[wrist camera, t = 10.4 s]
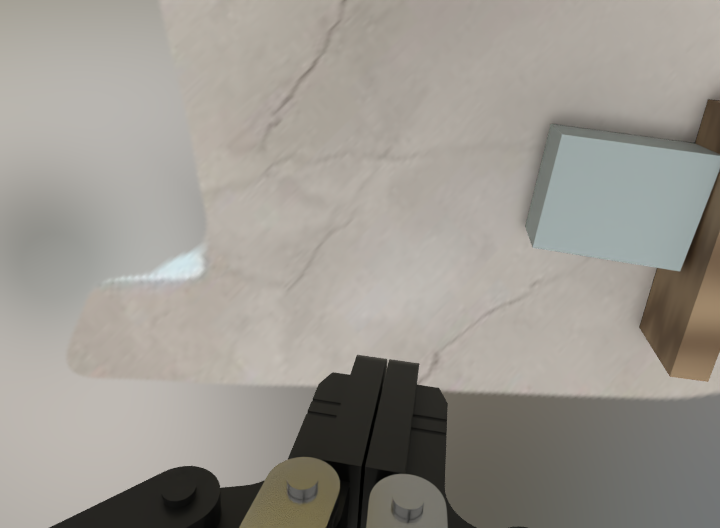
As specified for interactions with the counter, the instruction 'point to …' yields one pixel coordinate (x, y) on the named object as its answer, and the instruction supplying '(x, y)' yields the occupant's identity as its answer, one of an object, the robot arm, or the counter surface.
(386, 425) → the robot arm
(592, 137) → the grey block
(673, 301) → the walnut board
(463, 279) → the counter surface
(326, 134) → the counter surface
